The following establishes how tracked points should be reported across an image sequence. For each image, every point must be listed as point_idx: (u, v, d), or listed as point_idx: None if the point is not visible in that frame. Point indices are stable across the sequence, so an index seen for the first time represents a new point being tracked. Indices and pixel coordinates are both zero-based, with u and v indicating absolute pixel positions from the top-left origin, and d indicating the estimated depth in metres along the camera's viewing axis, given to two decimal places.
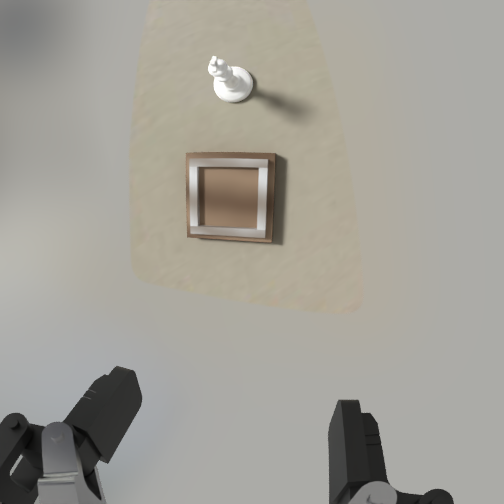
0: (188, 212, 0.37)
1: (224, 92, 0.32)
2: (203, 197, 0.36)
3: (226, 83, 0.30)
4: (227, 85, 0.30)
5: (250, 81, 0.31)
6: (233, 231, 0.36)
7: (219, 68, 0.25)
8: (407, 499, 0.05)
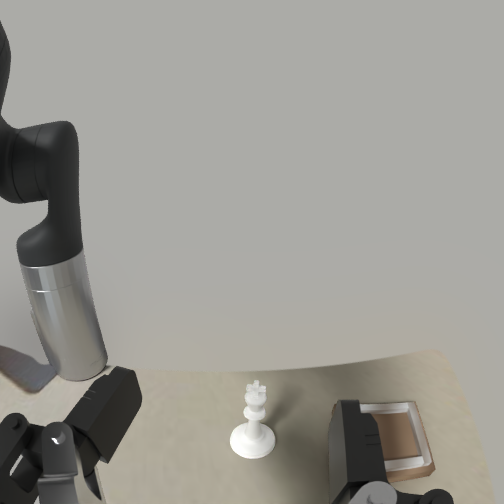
0: (408, 472, 0.20)
1: (264, 443, 0.26)
2: (389, 459, 0.22)
3: (259, 427, 0.26)
4: (260, 431, 0.26)
5: None
6: (417, 425, 0.25)
7: (258, 392, 0.24)
8: (407, 499, 0.05)
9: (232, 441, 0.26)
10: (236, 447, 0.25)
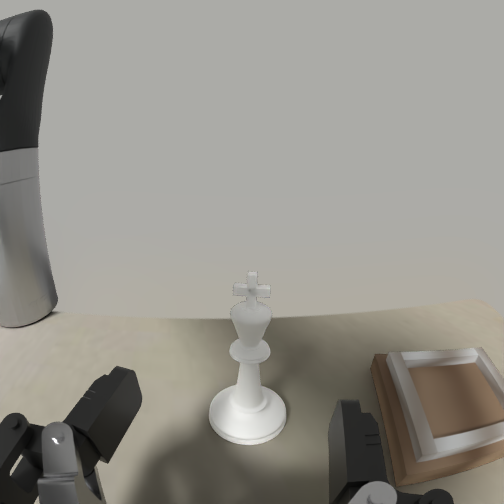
0: None
1: (267, 417, 0.15)
2: (474, 429, 0.11)
3: (259, 384, 0.15)
4: (260, 394, 0.16)
5: None
6: (496, 375, 0.14)
7: (256, 303, 0.14)
8: (407, 499, 0.05)
9: (212, 414, 0.16)
10: (218, 424, 0.15)
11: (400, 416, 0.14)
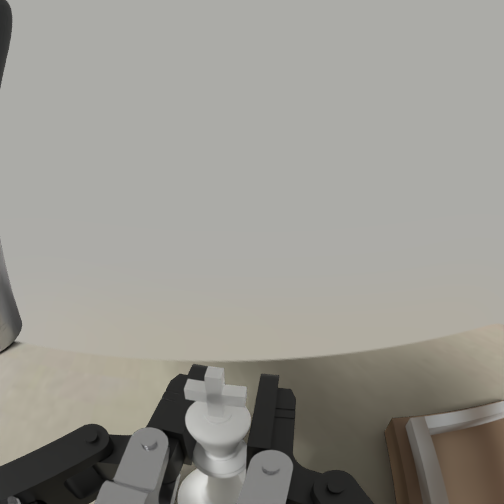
0: None
1: None
2: None
3: (238, 484, 0.09)
4: None
5: None
6: None
7: (226, 405, 0.08)
8: (310, 476, 0.06)
9: (180, 502, 0.10)
10: None
11: None
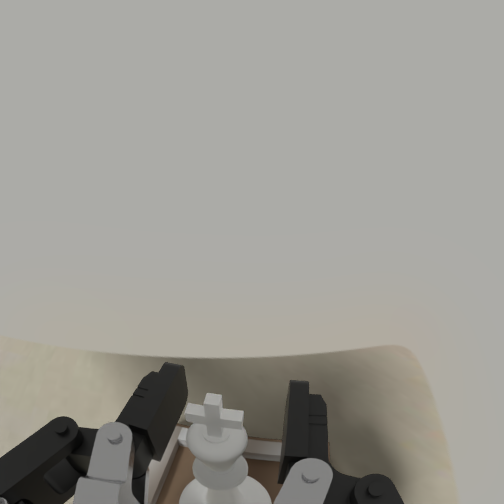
0: None
1: None
2: None
3: (236, 493, 0.09)
4: (239, 500, 0.10)
5: None
6: None
7: None
8: (347, 481, 0.06)
9: None
10: None
11: None
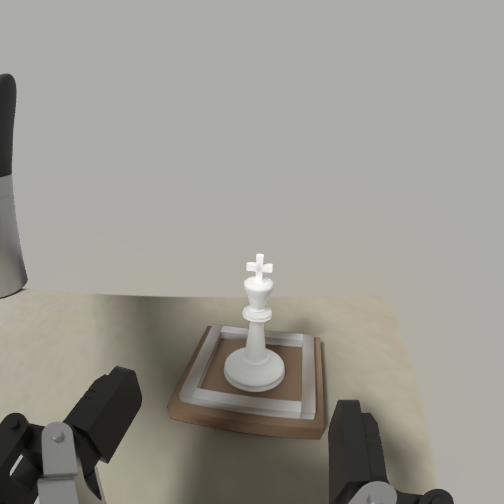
0: (275, 422, 0.17)
1: (270, 370, 0.21)
2: None
3: (264, 342, 0.21)
4: (265, 350, 0.21)
5: None
6: (307, 361, 0.22)
7: (262, 277, 0.20)
8: (407, 499, 0.05)
9: (226, 368, 0.22)
10: (231, 375, 0.21)
11: None
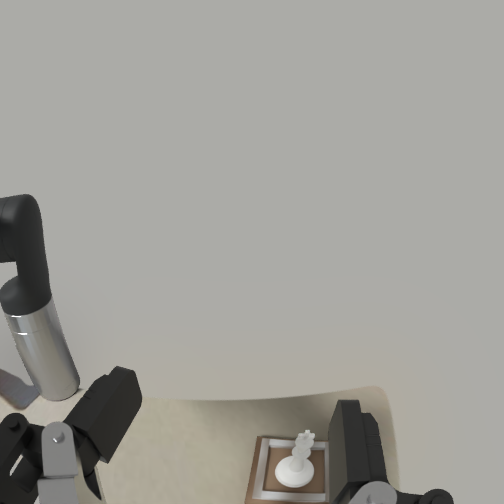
0: None
1: (305, 474, 0.27)
2: (294, 491, 0.26)
3: (303, 462, 0.27)
4: (303, 465, 0.27)
5: None
6: (328, 464, 0.29)
7: None
8: (407, 499, 0.05)
9: (278, 474, 0.28)
10: (282, 479, 0.27)
11: (254, 474, 0.28)
